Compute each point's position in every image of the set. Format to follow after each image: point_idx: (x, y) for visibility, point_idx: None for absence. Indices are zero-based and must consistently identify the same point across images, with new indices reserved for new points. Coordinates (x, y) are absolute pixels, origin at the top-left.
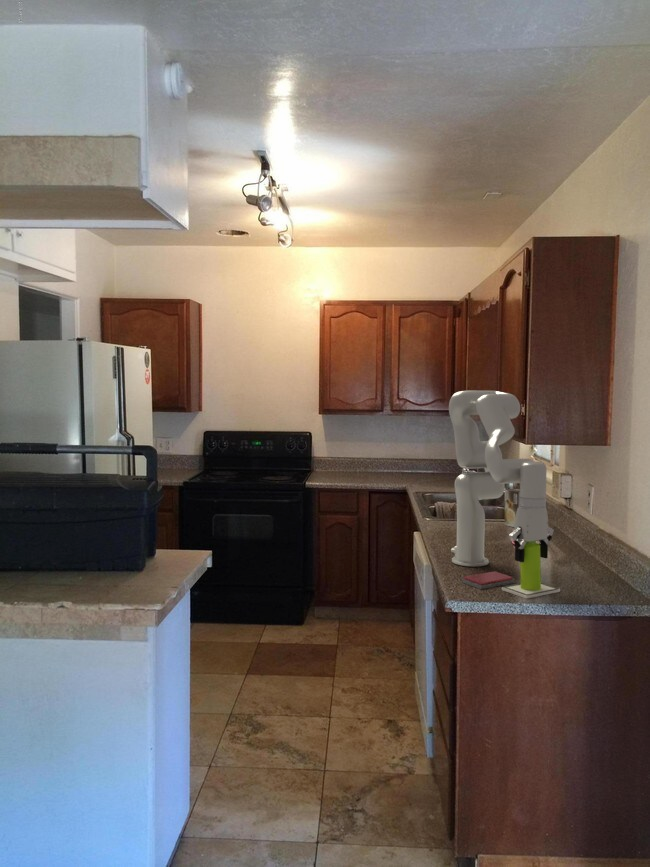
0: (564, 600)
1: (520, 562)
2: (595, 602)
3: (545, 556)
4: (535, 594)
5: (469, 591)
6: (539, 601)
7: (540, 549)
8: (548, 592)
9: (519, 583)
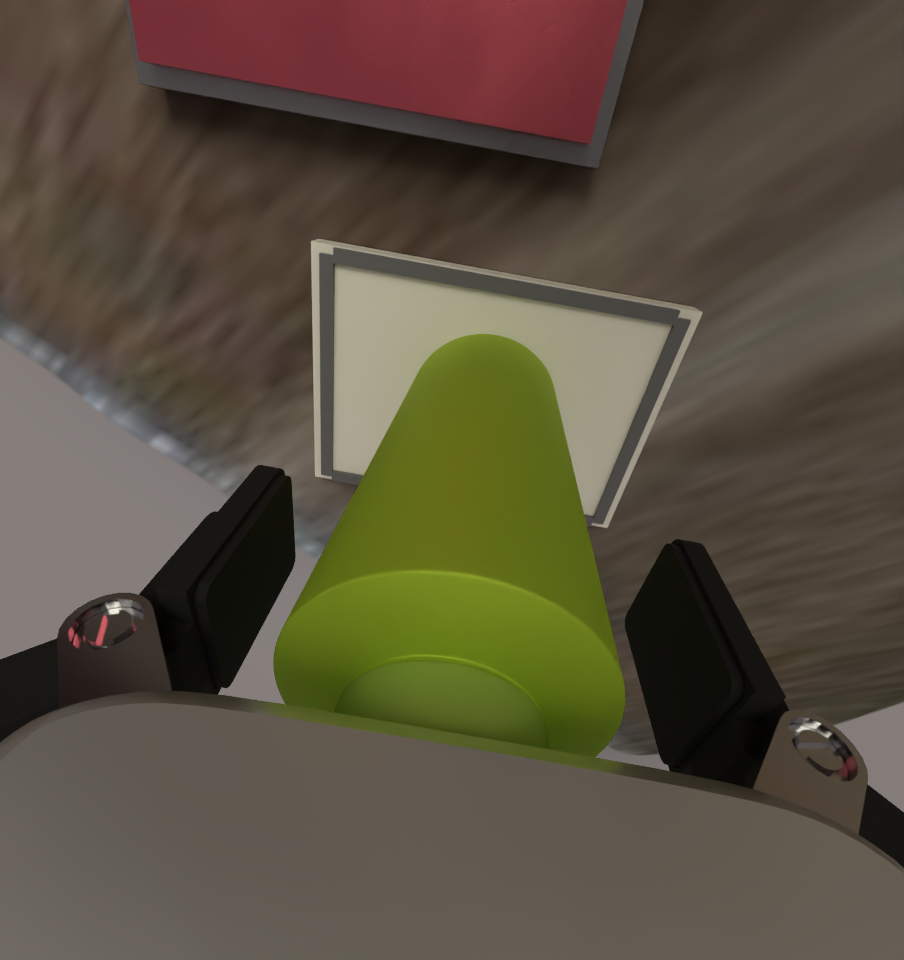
0: None
1: (380, 449)
2: None
3: (628, 635)
4: None
5: (24, 55)
6: None
7: (682, 644)
8: None
9: (513, 283)
